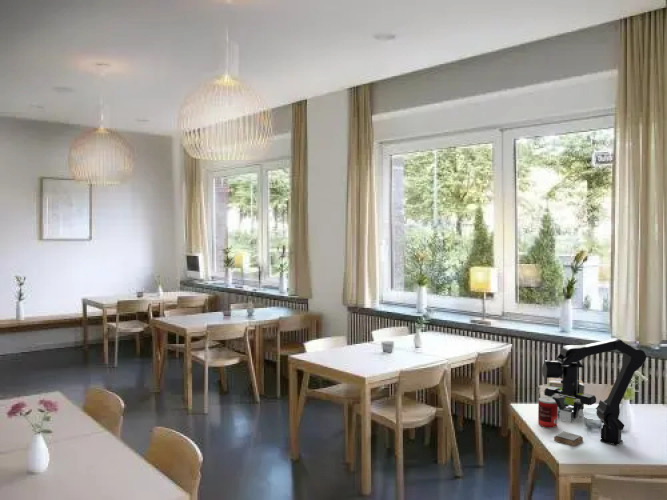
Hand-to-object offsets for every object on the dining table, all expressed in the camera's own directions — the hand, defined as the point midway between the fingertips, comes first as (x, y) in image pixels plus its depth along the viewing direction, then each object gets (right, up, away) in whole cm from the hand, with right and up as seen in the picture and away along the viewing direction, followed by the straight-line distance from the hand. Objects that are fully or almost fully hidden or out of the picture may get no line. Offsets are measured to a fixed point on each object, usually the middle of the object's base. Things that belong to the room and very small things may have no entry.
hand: (569, 416), depth 228 cm
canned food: (-1, -9, +19) cm, 21 cm away
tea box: (+13, -9, +36) cm, 39 cm away
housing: (0, -1, 0) cm, 1 cm away
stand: (0, -10, 0) cm, 10 cm away
